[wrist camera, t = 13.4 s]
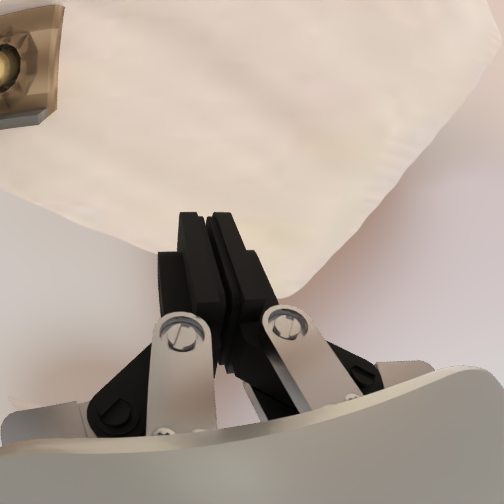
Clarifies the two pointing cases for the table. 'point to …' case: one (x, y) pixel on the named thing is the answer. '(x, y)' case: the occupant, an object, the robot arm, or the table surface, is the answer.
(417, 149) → the table surface
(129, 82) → the table surface
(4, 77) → the gold cylinder
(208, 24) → the table surface
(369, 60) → the table surface
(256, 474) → the robot arm
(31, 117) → the jig
